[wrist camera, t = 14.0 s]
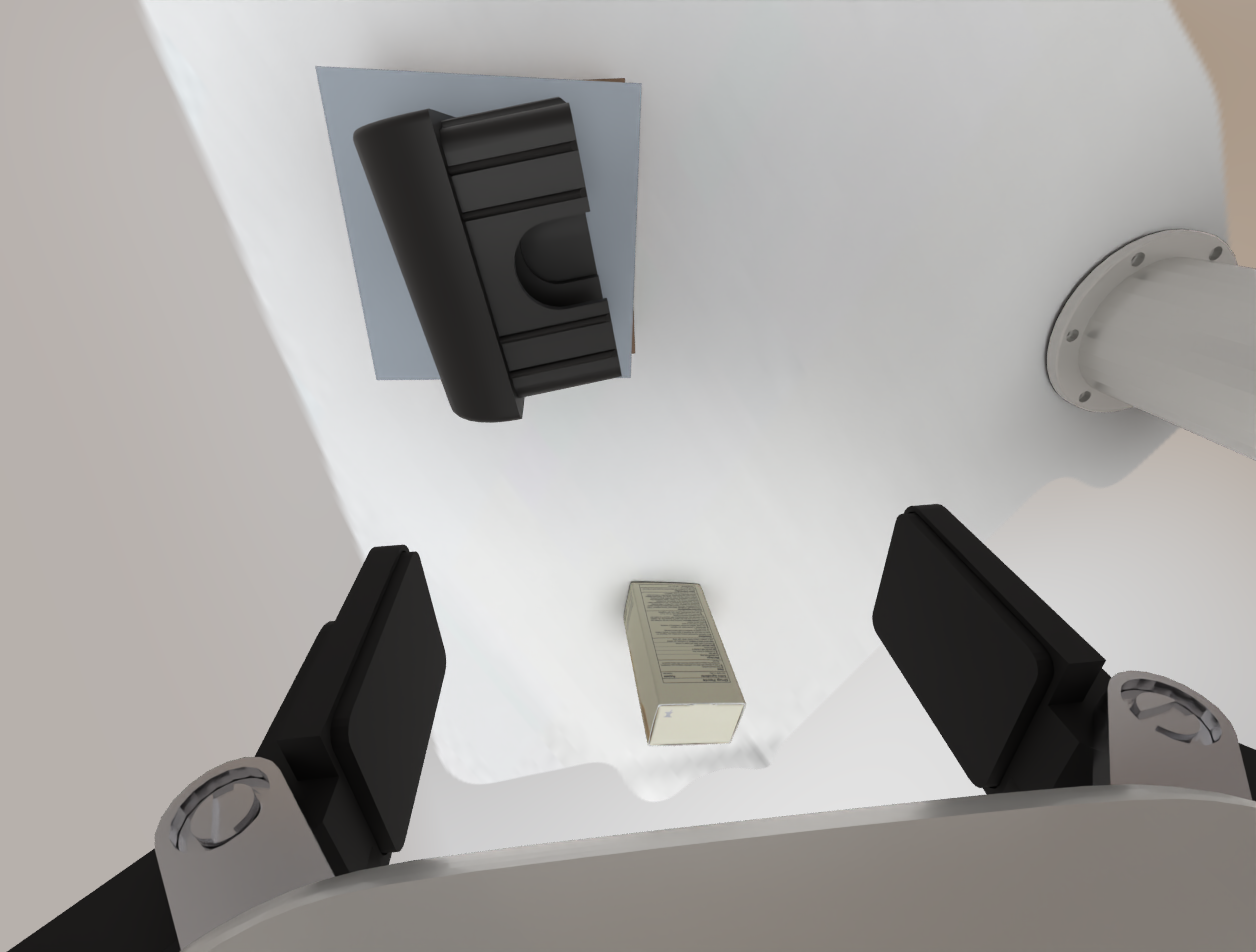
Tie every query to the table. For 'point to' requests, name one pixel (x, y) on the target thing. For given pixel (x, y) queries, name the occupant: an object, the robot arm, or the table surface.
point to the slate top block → (373, 95)
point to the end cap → (494, 250)
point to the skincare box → (680, 666)
